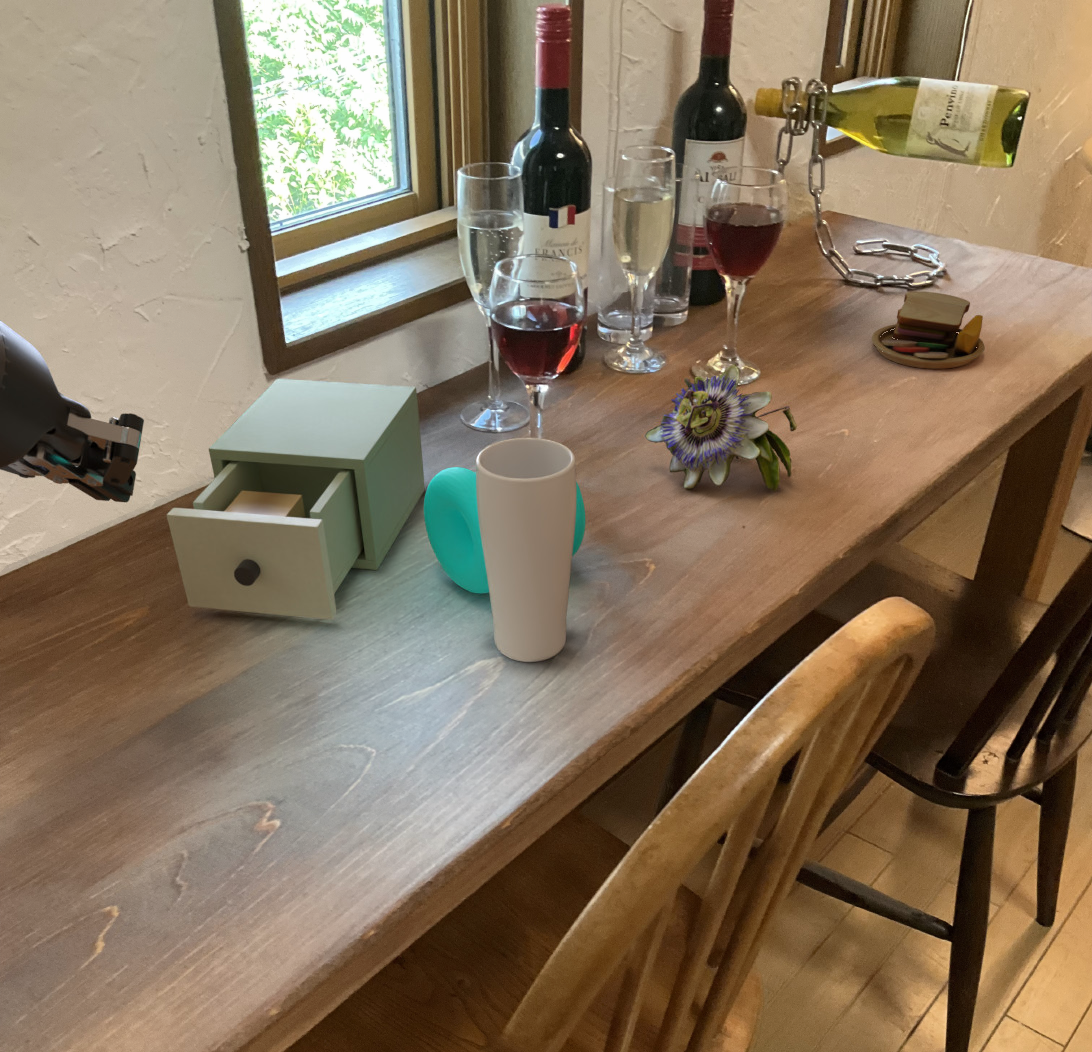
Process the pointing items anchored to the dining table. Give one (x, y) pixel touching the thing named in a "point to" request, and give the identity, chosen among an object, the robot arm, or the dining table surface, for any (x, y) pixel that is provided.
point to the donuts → (467, 527)
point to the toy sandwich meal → (931, 333)
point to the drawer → (269, 541)
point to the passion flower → (721, 431)
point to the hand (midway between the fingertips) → (116, 486)
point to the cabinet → (339, 446)
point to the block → (268, 504)
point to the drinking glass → (527, 542)
